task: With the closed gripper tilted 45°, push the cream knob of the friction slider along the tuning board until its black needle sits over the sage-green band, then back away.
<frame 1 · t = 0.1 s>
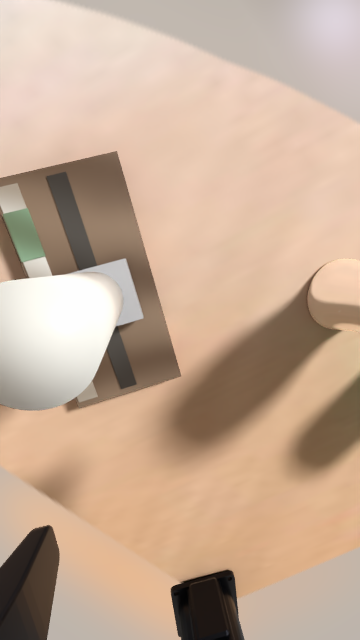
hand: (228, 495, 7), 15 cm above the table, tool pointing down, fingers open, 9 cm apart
tuning board: (99, 288, 19), on the table
beer glass: (337, 294, 23), on the table
tuning slider: (65, 316, 12), point 7 cm above the table, slide at 0.0 cm
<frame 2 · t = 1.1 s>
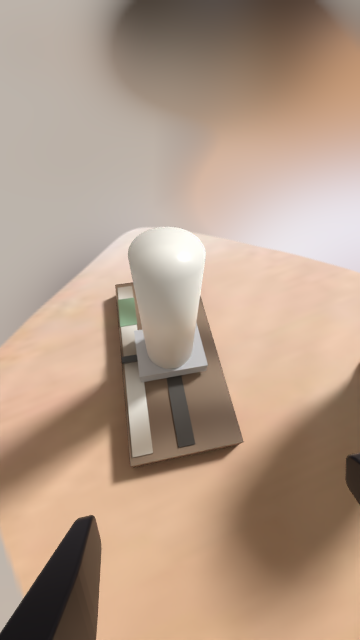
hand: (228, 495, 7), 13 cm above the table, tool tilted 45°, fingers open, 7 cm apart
tuning board: (169, 357, 24), on the table
tuning slider: (158, 318, 17), point 7 cm above the table, slide at 0.0 cm
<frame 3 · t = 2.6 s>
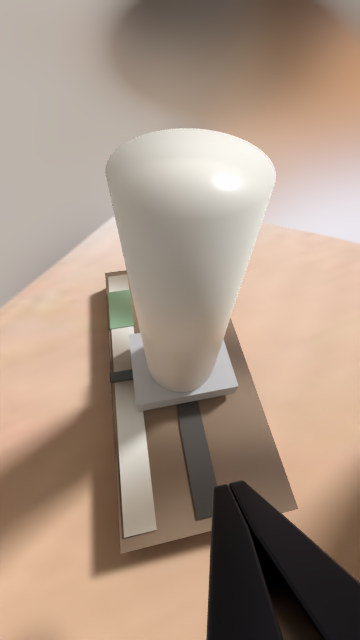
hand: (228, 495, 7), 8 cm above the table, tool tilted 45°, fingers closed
tuning board: (178, 372, 17), on the table
tuning slider: (166, 315, 10), point 8 cm above the table, slide at 0.0 cm
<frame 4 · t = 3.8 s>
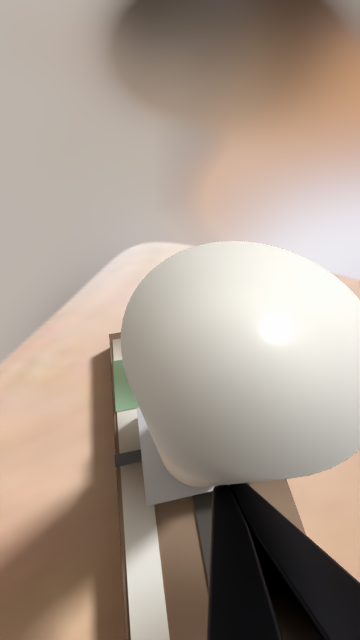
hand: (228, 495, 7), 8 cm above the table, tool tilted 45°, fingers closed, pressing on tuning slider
tuning board: (195, 461, 14), on the table
tuning slider: (187, 423, 8), point 8 cm above the table, slide at 1.1 cm, touching gripper
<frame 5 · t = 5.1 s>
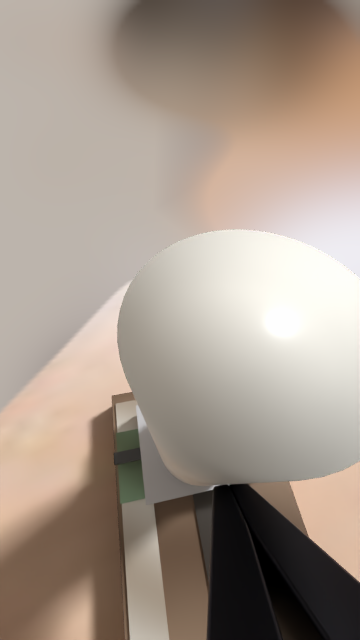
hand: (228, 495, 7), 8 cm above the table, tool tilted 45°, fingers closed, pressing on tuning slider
tuning board: (216, 561, 12), on the table
tuning slider: (188, 420, 8), point 8 cm above the table, slide at 5.3 cm, touching gripper
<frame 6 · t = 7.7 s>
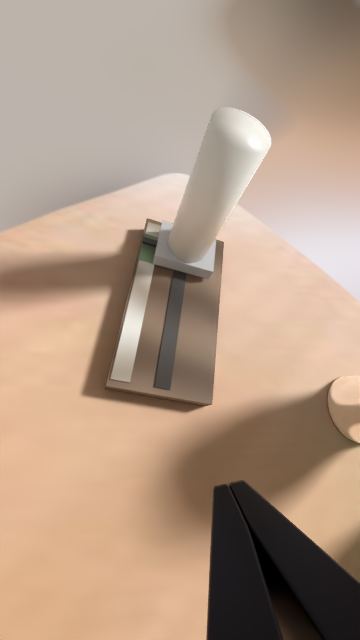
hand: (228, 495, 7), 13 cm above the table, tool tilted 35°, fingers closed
tuning board: (171, 307, 24), on the table
beer glass: (352, 408, 25), on the table
tuning slider: (197, 205, 19), point 8 cm above the table, slide at 5.3 cm
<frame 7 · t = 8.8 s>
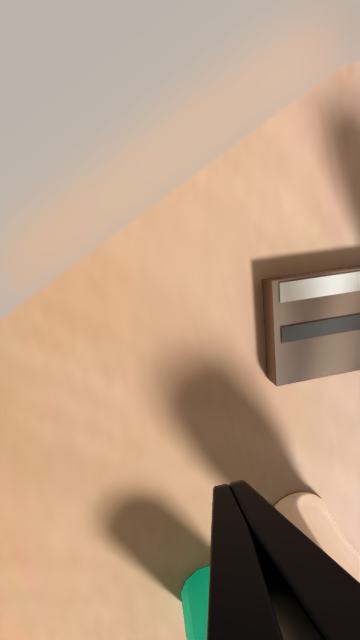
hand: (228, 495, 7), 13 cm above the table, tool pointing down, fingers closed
tuning board: (356, 315, 21), on the table
candle: (210, 586, 25), on the table
beer glass: (294, 516, 25), on the table
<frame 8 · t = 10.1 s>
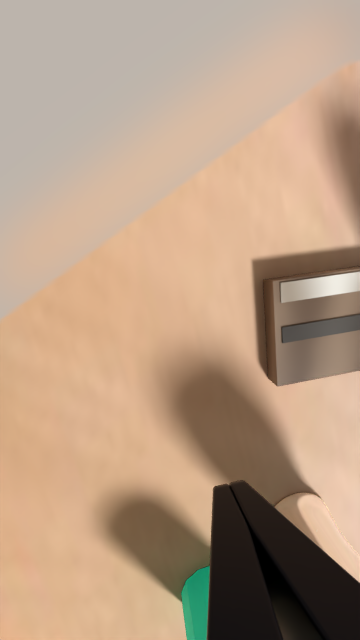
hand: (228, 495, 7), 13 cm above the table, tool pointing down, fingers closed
tuning board: (357, 315, 21), on the table
candle: (211, 586, 25), on the table
beer glass: (295, 516, 25), on the table
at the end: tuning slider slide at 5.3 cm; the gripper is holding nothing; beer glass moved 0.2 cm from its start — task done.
